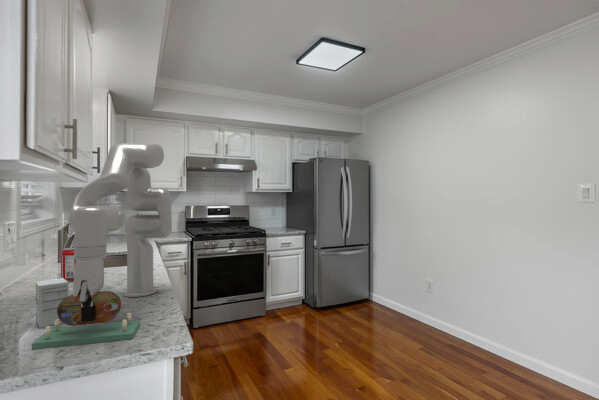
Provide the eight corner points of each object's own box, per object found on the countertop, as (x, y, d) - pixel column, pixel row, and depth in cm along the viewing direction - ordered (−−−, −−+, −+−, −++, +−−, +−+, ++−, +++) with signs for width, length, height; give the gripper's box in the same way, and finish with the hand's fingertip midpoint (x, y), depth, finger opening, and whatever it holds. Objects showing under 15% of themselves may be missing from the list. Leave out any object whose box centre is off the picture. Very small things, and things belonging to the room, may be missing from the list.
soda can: (65, 283, 147) (65, 250, 147) (57, 281, 151) (57, 248, 151) (84, 279, 154) (84, 247, 154) (76, 277, 158) (76, 246, 158)
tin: (56, 327, 87) (56, 296, 87) (62, 322, 90) (61, 292, 90) (119, 321, 91) (119, 291, 91) (122, 317, 94) (122, 288, 94)
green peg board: (50, 333, 92) (50, 317, 92) (139, 325, 98) (139, 309, 98) (32, 349, 82) (32, 330, 82) (132, 338, 89) (132, 321, 89)
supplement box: (35, 322, 101) (35, 281, 101) (64, 316, 106) (64, 277, 106) (38, 329, 96) (38, 285, 96) (69, 322, 101) (68, 281, 101)
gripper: (85, 248, 97) (85, 310, 97) (62, 257, 82) (62, 331, 82) (113, 247, 99) (113, 308, 99) (96, 256, 84) (96, 328, 84)
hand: (90, 318), depth 90 cm, fingers closed on tin, 2 cm apart
